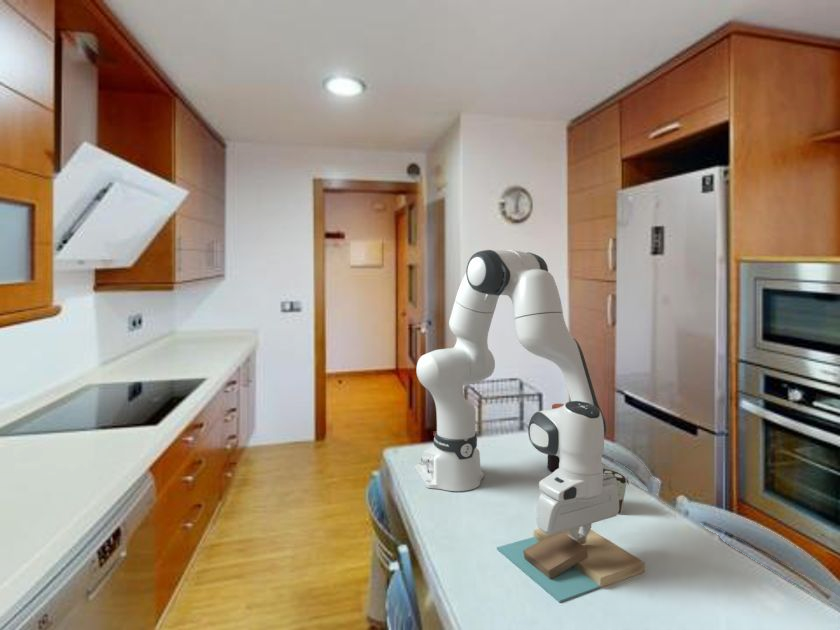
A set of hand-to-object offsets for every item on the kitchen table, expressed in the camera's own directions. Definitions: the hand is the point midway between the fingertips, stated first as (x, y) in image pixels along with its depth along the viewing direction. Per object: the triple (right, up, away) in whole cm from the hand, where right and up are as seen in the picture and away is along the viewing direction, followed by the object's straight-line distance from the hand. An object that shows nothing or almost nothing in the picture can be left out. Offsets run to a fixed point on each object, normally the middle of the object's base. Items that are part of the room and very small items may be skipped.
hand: (578, 543), depth 108 cm
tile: (-6, -2, -3) cm, 6 cm away
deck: (+2, -3, +1) cm, 4 cm away
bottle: (+9, +1, +48) cm, 49 cm away
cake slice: (+13, -1, +23) cm, 27 cm away
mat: (-8, -3, -4) cm, 9 cm away
